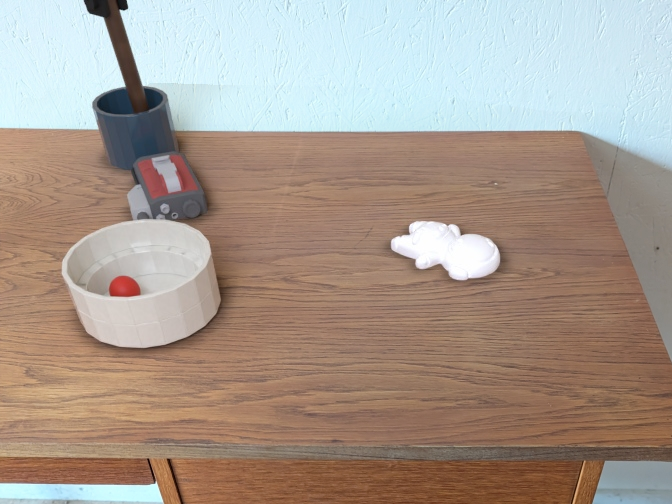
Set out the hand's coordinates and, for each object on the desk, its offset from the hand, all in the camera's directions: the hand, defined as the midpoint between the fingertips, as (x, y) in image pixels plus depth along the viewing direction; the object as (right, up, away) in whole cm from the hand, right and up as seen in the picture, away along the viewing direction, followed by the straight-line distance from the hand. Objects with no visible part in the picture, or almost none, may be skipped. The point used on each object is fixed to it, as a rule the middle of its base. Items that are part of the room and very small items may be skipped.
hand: (108, 10), depth 83 cm
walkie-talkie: (+6, -22, +4) cm, 23 cm away
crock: (0, -11, +13) cm, 17 cm away
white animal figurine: (+38, -29, -2) cm, 48 cm away
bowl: (+8, -37, -8) cm, 38 cm away
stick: (+1, -8, +8) cm, 12 cm away
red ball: (+5, -35, -10) cm, 37 cm away
